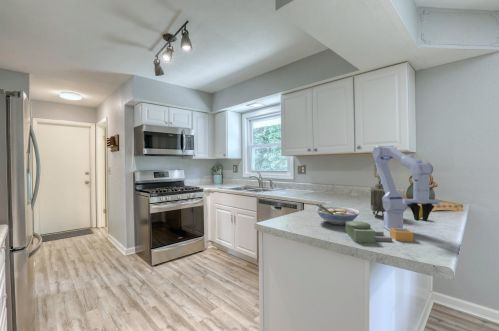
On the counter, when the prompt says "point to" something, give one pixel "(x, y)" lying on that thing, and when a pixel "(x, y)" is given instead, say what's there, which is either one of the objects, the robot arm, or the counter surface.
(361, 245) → the counter surface
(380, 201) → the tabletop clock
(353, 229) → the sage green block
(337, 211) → the ramen bowl
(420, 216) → the lemon
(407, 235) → the orange square frame
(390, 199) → the robot arm
